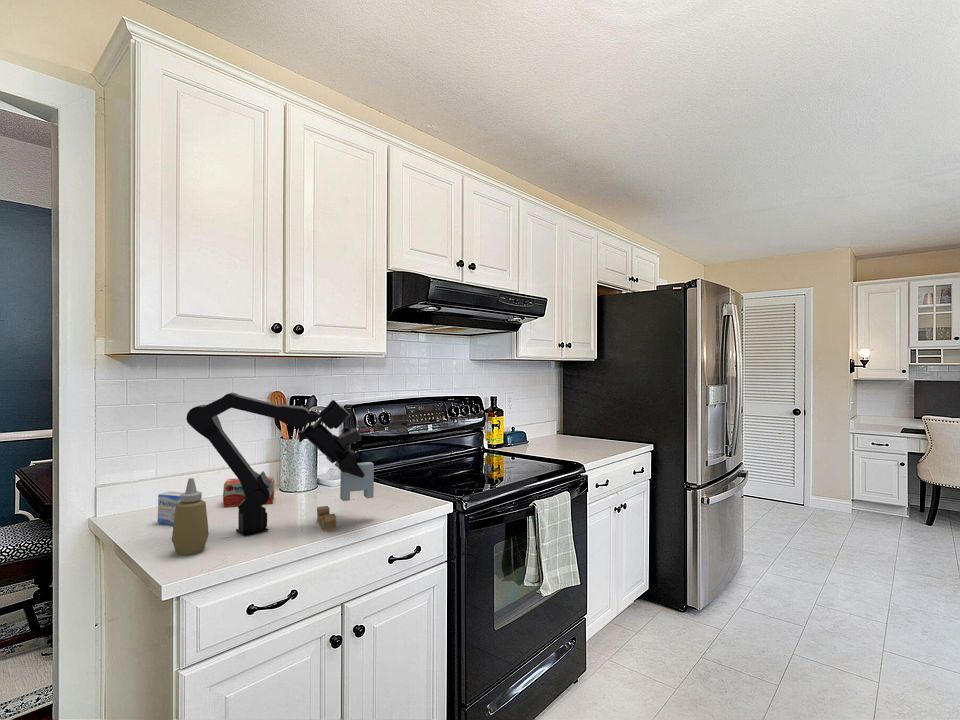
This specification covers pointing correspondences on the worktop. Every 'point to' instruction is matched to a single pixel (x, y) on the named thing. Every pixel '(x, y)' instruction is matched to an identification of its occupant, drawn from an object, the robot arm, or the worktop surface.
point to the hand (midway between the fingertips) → (361, 475)
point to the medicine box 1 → (167, 507)
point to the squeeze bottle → (190, 522)
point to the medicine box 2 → (239, 492)
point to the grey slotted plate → (358, 482)
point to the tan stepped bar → (326, 519)
